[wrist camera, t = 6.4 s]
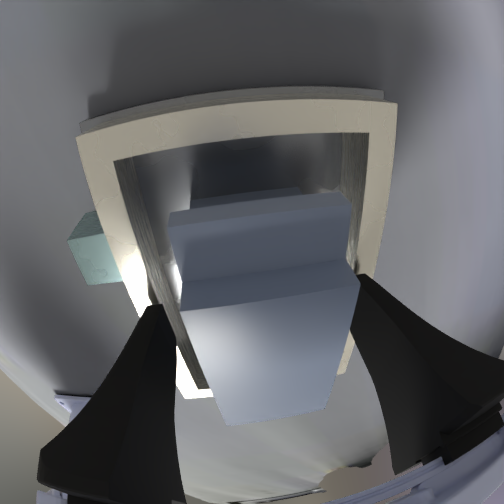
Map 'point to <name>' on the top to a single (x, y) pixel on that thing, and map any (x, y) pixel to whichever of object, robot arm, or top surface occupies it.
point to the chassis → (225, 181)
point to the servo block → (266, 297)
